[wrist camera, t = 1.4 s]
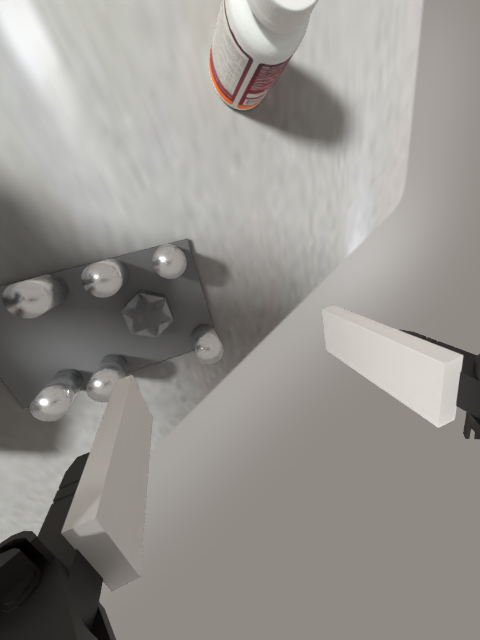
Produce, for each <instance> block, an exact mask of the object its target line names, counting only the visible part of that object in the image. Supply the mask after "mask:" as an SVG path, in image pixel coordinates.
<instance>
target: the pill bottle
mask: <svg viewBox="0 0 480 640" xmlns="http://www.w3.org/2000/svg"><path fill="white" fill-rule="evenodd" d="M317 2H318V0H222V1H221V6H220V10H219V15H218V19H217V23H216V28H215V32H214V37H213V41H212V46H211V50H210V57H209V71H210V77H211V81H212V84H213V86H214V88H215V90H216V92H217V94H218V95H219V97H220V98H221V99H222V100H223V101H224V102H225V103H226V104H227V105H229V106H230V107H232V108H234V109H238V110H249V109H251V108H254V107H255V106H257V105H258V104H259V103H260V102H261V101H262V100H263V98H264V97H265V95H266V94H267V93H268V91H269V90H270V88H271V87H272V85H273V84H274V82H275V81H276V79H277V78H278V76H279V75H280V73H281V72H282V71H283V69H284V68H285V66H286V65H287V63H288V62H289V60H290V59H291V57H292V56H293V54H294V53H295V52H296V50H297V48H298V47H299V45H300V43H301V41H302V39H303V37H304V35H305V32H306V30H307V26H308V23H309V18H310V14H311V12H312V10H313V8H314V7H315V5H316V4H317Z"/></svg>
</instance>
